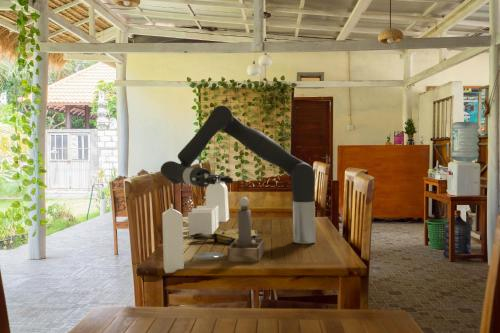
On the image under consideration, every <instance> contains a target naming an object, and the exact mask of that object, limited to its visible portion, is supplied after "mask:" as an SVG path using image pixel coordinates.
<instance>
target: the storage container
mask: <svg viewBox="0 0 500 333" xmlns="http://www.w3.org/2000/svg"><path fill="white" fill-rule="evenodd" d="M187 213H188V214H187V223H188V224H187V225H188V226H187V227H188V236H189V235H194V234H197V233H210V234H214V231H217V230H218V228H219V225H220V224H219V223H220V222H219V221H218V206H206V205H196V208H193V209H191V212H187Z"/></svg>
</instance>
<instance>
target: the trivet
mask: <svg viewBox="0 0 500 333" xmlns="http://www.w3.org/2000/svg"><path fill="white" fill-rule="evenodd" d="M224 256H225V255H224V253H222V252H216V251H215V252H214V251H213V252H211V251H208V252H207V251H206V252H201V253H196V254H194V255H193V258H195V259H199V260H214V259H215V260H217V259H220V258H223V257H224Z"/></svg>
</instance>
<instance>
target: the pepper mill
mask: <svg viewBox="0 0 500 333" xmlns="http://www.w3.org/2000/svg"><path fill="white" fill-rule="evenodd" d="M238 200H239V201H238V204H239V206H240V209H238V210H237V226H238V227H237V229H238V240H239V248H252V240H251V230H252V210H251V209H249V208H248V206H249V204H250V199H249V198H248V197H246V196H242V197H240V199H238Z"/></svg>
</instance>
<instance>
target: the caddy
mask: <svg viewBox="0 0 500 333" xmlns="http://www.w3.org/2000/svg"><path fill="white" fill-rule="evenodd" d="M251 240H252V248H239V240H238V238H236V239H235V240H234V241H233V242H232V244H229V246H228V247H227V248H226V249H227V262H239V263H240V262H241V263H242V262H247V263H249V262H252V263H254V262H255V263H257V262H258V263H259V262H260V261H261V260H262V257H263V255H264V254H265V251H266V244H265V243H266V241H265V240H266V239H265V238H260V237H258V238H251Z"/></svg>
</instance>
